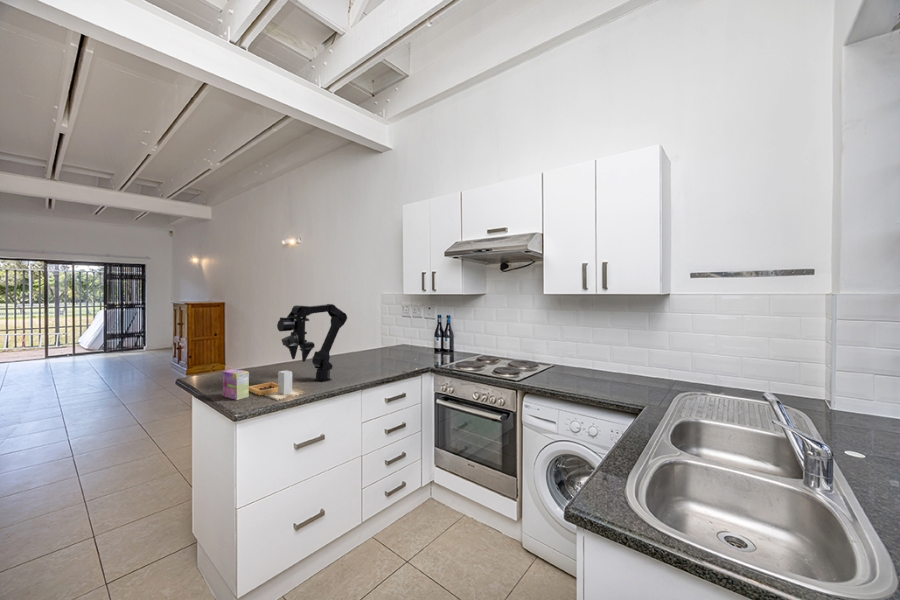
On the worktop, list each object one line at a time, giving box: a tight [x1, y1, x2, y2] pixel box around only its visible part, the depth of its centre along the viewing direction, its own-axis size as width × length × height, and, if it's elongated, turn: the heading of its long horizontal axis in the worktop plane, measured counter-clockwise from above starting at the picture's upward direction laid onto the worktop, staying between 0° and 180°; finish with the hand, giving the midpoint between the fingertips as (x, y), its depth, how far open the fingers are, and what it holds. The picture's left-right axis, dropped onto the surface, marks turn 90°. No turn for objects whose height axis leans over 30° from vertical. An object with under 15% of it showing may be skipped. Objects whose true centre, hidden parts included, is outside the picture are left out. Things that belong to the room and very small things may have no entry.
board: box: [264, 387, 306, 401], centre depth 171 cm, size 14×10×1 cm
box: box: [222, 368, 250, 401], centre depth 165 cm, size 10×6×12 cm, turn 62°
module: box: [277, 369, 293, 395], centre depth 171 cm, size 4×5×10 cm
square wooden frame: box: [249, 381, 278, 396], centre depth 176 cm, size 12×12×2 cm
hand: (298, 360), depth 187 cm, fingers open, 9 cm apart
